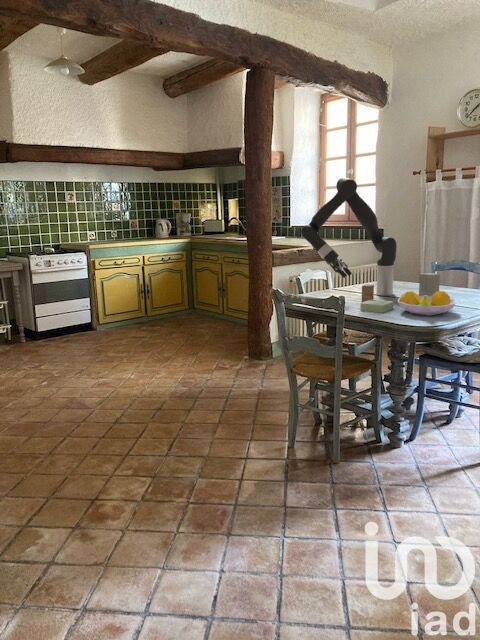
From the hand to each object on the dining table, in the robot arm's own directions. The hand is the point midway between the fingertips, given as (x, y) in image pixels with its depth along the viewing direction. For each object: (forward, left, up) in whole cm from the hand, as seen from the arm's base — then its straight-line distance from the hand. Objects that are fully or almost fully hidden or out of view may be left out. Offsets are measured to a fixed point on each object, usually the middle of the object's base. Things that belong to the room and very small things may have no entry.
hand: (348, 275), depth 276 cm
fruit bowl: (+4, +44, -15) cm, 47 cm away
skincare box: (-20, +37, -15) cm, 44 cm away
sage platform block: (+8, +21, -15) cm, 27 cm away
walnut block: (-2, +11, -15) cm, 18 cm away
